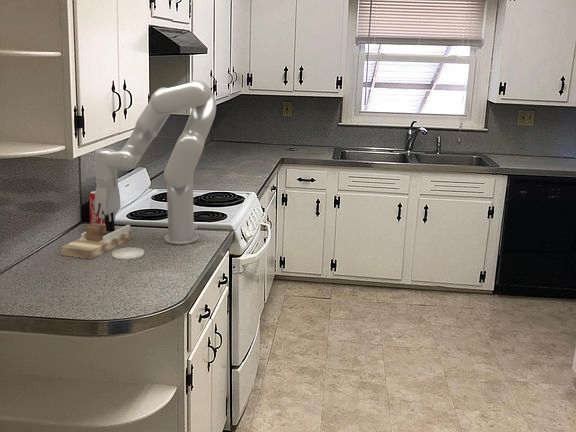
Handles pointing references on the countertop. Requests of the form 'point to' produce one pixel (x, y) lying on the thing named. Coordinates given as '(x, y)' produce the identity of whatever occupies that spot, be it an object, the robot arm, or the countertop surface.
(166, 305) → the countertop surface
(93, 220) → the beverage can
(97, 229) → the walnut block
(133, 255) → the cream plate
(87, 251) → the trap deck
